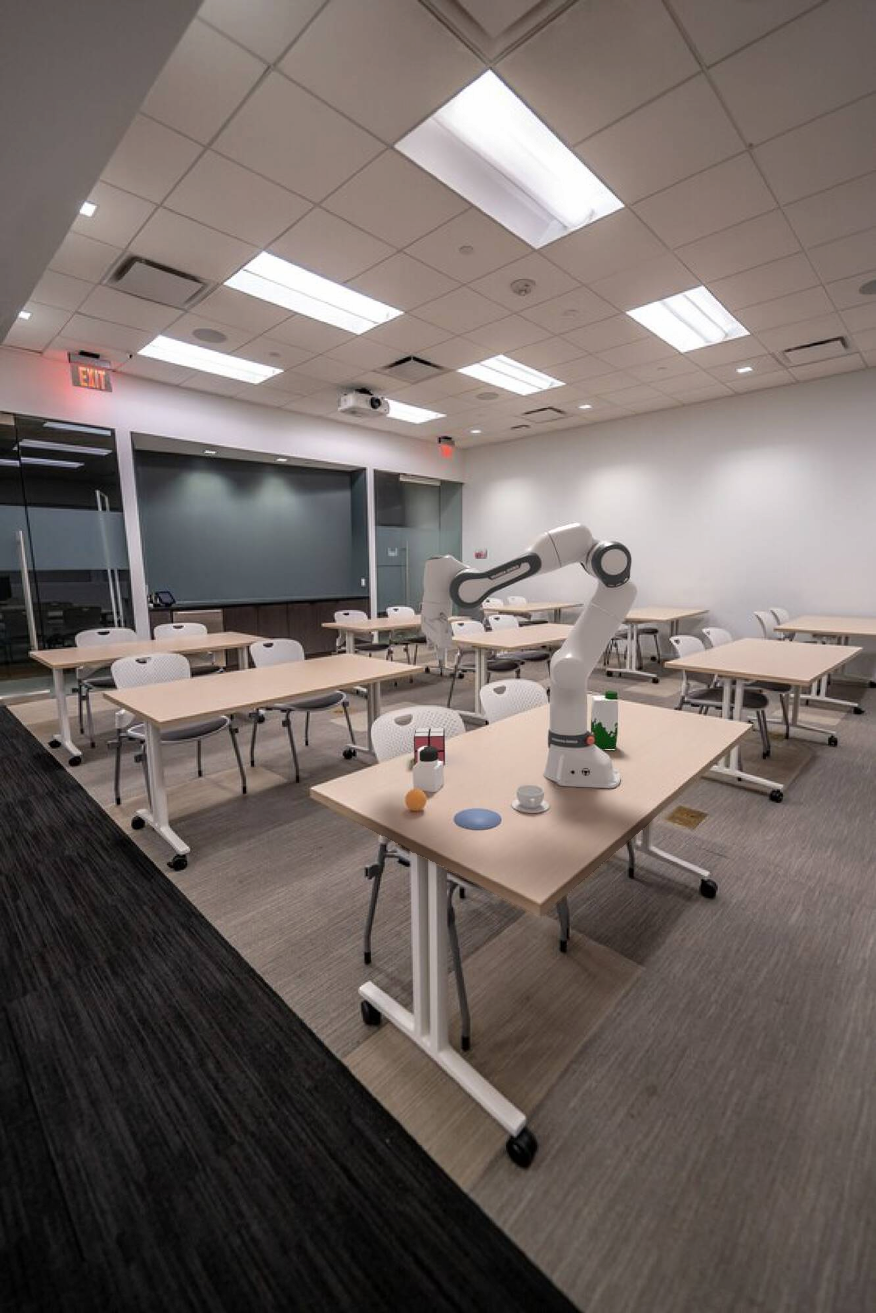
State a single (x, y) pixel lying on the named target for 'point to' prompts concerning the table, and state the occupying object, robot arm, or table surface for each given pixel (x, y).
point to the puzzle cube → (430, 741)
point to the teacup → (530, 799)
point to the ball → (415, 800)
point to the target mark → (477, 819)
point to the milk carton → (605, 720)
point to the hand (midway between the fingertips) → (434, 654)
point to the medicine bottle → (428, 770)
